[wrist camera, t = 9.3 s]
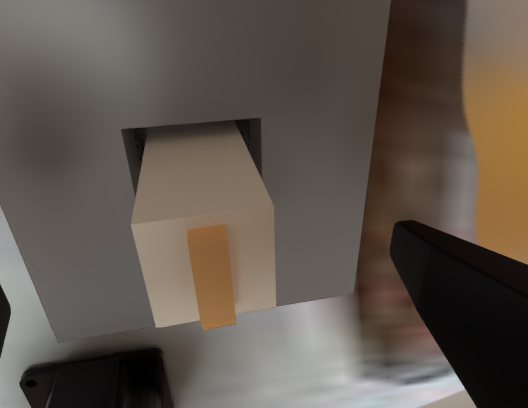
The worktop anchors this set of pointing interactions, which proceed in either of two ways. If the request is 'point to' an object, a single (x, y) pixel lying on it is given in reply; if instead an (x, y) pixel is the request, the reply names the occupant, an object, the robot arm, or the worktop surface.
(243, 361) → the worktop surface
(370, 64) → the jack panel
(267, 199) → the plug
